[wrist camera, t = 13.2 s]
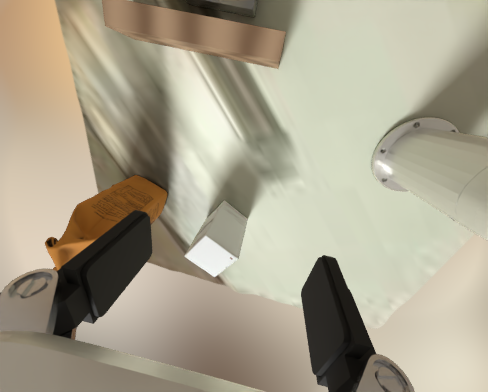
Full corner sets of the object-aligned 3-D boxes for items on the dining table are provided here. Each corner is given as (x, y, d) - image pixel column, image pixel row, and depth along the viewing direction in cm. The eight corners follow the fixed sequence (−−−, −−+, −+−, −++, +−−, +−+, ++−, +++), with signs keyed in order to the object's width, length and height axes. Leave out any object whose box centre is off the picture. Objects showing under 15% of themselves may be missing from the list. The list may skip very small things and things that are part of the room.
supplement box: (224, 198, 42) (206, 234, 30) (248, 219, 43) (240, 259, 32) (205, 218, 45) (182, 256, 33) (228, 236, 46) (214, 279, 35)
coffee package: (119, 204, 46) (7, 277, 27) (136, 167, 41) (12, 225, 22) (153, 226, 48) (72, 310, 29) (174, 193, 43) (92, 269, 23)
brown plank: (283, 45, 28) (285, 31, 23) (278, 68, 30) (279, 61, 24) (132, 15, 29) (101, -5, 24) (134, 39, 30) (105, 25, 25)
